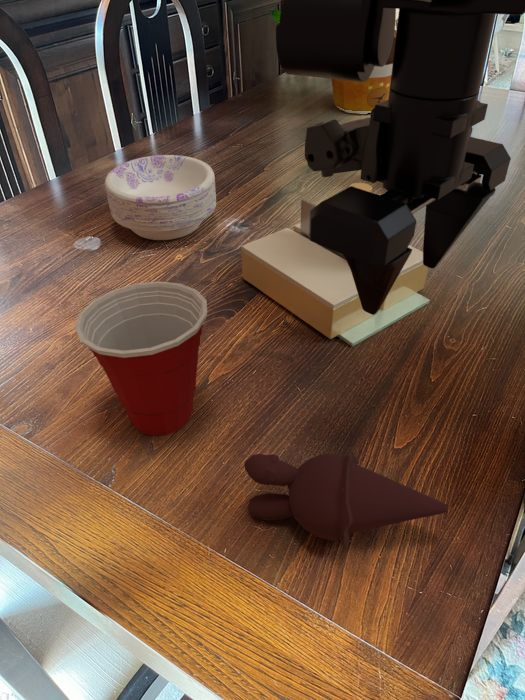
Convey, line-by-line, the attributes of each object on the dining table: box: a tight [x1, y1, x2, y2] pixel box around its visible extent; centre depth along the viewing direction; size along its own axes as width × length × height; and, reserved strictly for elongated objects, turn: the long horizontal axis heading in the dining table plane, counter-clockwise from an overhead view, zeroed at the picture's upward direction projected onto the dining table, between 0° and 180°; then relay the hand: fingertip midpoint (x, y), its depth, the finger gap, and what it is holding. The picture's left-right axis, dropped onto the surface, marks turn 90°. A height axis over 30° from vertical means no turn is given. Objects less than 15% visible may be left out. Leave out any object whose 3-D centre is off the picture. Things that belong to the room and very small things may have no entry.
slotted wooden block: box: [240, 222, 431, 348], centre depth 67 cm, size 20×16×5 cm
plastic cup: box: [74, 280, 208, 437], centre depth 49 cm, size 11×11×12 cm
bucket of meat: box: [330, 18, 398, 111], centre depth 119 cm, size 20×16×20 cm
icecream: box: [244, 449, 449, 549], centre depth 41 cm, size 7×7×15 cm
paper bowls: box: [104, 154, 217, 241], centre depth 79 cm, size 15×15×8 cm
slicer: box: [300, 182, 373, 260], centre depth 63 cm, size 12×2×10 cm, turn 38°
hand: (401, 288), depth 46 cm, fingers open, 9 cm apart
